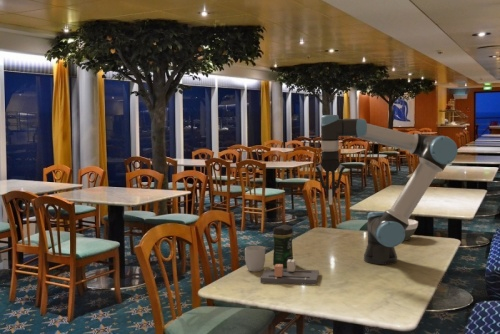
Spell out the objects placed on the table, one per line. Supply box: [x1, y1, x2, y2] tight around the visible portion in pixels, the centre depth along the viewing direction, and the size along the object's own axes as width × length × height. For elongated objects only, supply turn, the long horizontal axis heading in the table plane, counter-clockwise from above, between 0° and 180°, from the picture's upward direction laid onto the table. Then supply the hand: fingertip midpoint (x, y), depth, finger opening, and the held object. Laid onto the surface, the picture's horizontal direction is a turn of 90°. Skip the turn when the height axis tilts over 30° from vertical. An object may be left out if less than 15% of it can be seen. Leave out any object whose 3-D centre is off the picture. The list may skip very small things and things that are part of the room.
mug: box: [244, 245, 266, 273], centre depth 248 cm, size 13×9×10 cm
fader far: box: [286, 258, 296, 272], centre depth 236 cm, size 3×4×4 cm
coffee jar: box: [272, 224, 294, 268], centre depth 252 cm, size 10×8×19 cm
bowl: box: [402, 218, 419, 242], centre depth 301 cm, size 20×20×10 cm
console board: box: [259, 268, 320, 285], centre depth 232 cm, size 23×15×2 cm, turn 79°
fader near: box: [274, 264, 284, 277], centre depth 229 cm, size 3×4×4 cm
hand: (330, 204), depth 241 cm, fingers closed
